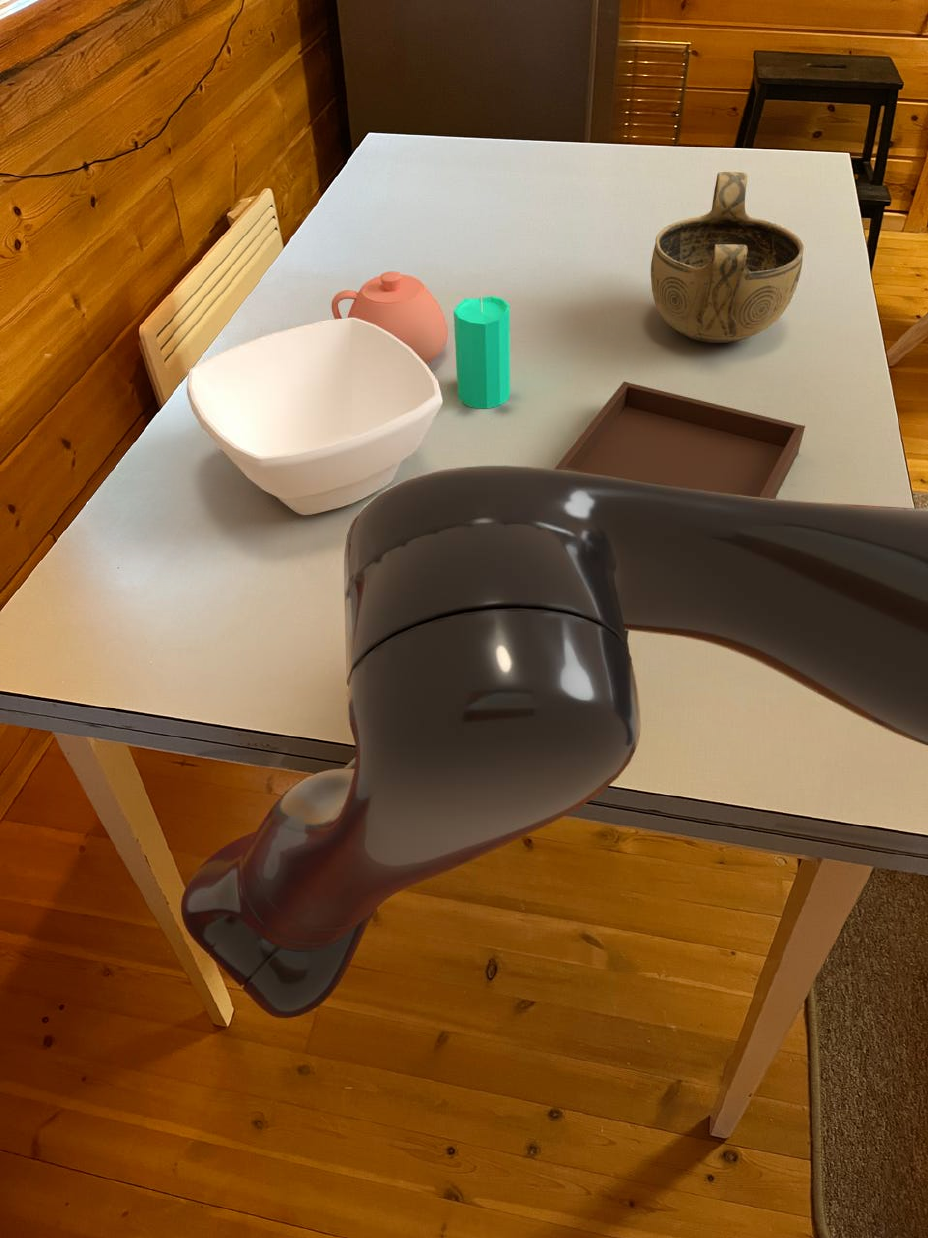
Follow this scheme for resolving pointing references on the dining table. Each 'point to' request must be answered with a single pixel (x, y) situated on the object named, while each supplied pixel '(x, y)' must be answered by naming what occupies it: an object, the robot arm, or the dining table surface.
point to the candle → (483, 351)
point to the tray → (685, 444)
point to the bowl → (317, 410)
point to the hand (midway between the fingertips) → (574, 603)
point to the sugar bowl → (400, 312)
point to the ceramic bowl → (724, 269)
